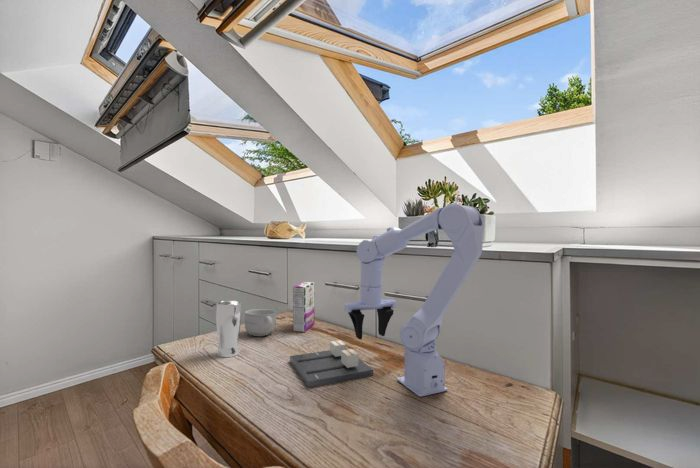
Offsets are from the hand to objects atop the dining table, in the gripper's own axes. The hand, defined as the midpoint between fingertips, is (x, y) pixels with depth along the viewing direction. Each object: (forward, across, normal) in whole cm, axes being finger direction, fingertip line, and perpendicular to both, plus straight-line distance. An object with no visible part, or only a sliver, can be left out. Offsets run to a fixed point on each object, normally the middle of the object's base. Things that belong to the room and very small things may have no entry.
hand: (370, 336), depth 90 cm
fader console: (+8, +10, -4) cm, 14 cm away
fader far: (+6, +6, -8) cm, 12 cm away
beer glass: (+9, +34, -25) cm, 43 cm away
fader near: (+6, +6, 0) cm, 9 cm away
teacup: (+9, +22, -39) cm, 45 cm away
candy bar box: (+9, +6, -42) cm, 43 cm away
